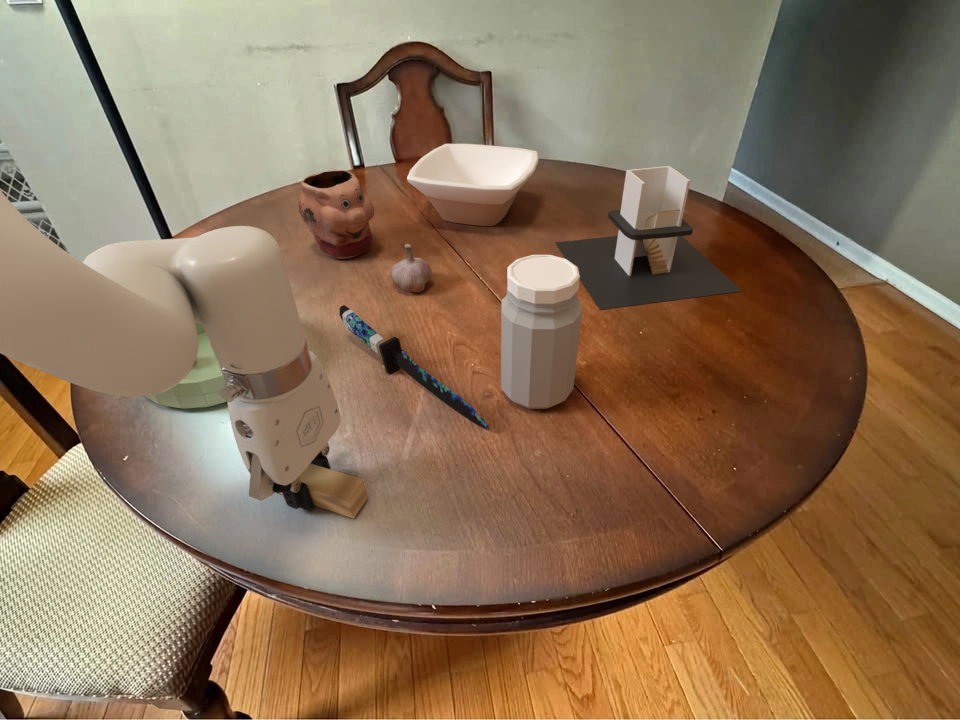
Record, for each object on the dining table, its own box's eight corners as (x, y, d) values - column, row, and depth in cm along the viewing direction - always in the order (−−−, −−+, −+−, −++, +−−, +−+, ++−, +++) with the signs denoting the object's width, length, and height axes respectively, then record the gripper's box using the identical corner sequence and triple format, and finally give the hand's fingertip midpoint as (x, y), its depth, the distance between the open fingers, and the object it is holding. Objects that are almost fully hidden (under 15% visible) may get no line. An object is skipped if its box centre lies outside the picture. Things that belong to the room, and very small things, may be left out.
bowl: (517, 244, 108) (518, 191, 101) (401, 229, 114) (395, 178, 107) (544, 197, 125) (547, 149, 119) (442, 187, 131) (439, 141, 125)
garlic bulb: (425, 298, 93) (421, 255, 88) (384, 294, 94) (378, 252, 89) (437, 276, 99) (434, 234, 94) (398, 272, 100) (393, 231, 95)
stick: (368, 497, 61) (363, 479, 59) (353, 518, 58) (348, 500, 57) (272, 466, 65) (264, 449, 63) (255, 486, 63) (247, 468, 61)
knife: (339, 329, 84) (335, 305, 81) (356, 321, 86) (353, 297, 83) (472, 454, 68) (474, 431, 65) (490, 441, 70) (492, 418, 67)
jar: (588, 389, 74) (604, 270, 63) (539, 425, 69) (547, 303, 58) (533, 356, 80) (539, 242, 69) (484, 388, 75) (482, 270, 64)
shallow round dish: (137, 431, 70) (120, 401, 67) (144, 342, 85) (130, 315, 82) (303, 386, 76) (294, 357, 73) (282, 310, 91) (274, 284, 88)
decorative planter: (285, 242, 110) (267, 172, 102) (336, 222, 117) (323, 155, 109) (347, 274, 100) (332, 200, 91) (398, 250, 107) (389, 179, 98)
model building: (600, 309, 89) (613, 213, 79) (554, 242, 108) (560, 157, 98) (742, 291, 93) (772, 196, 82) (674, 229, 111) (692, 145, 101)
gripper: (238, 436, 43) (293, 566, 55) (351, 323, 55) (377, 449, 66) (165, 413, 45) (233, 542, 57) (289, 309, 57) (324, 433, 69)
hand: (310, 491), depth 62 cm, fingers closed on stick, 3 cm apart
